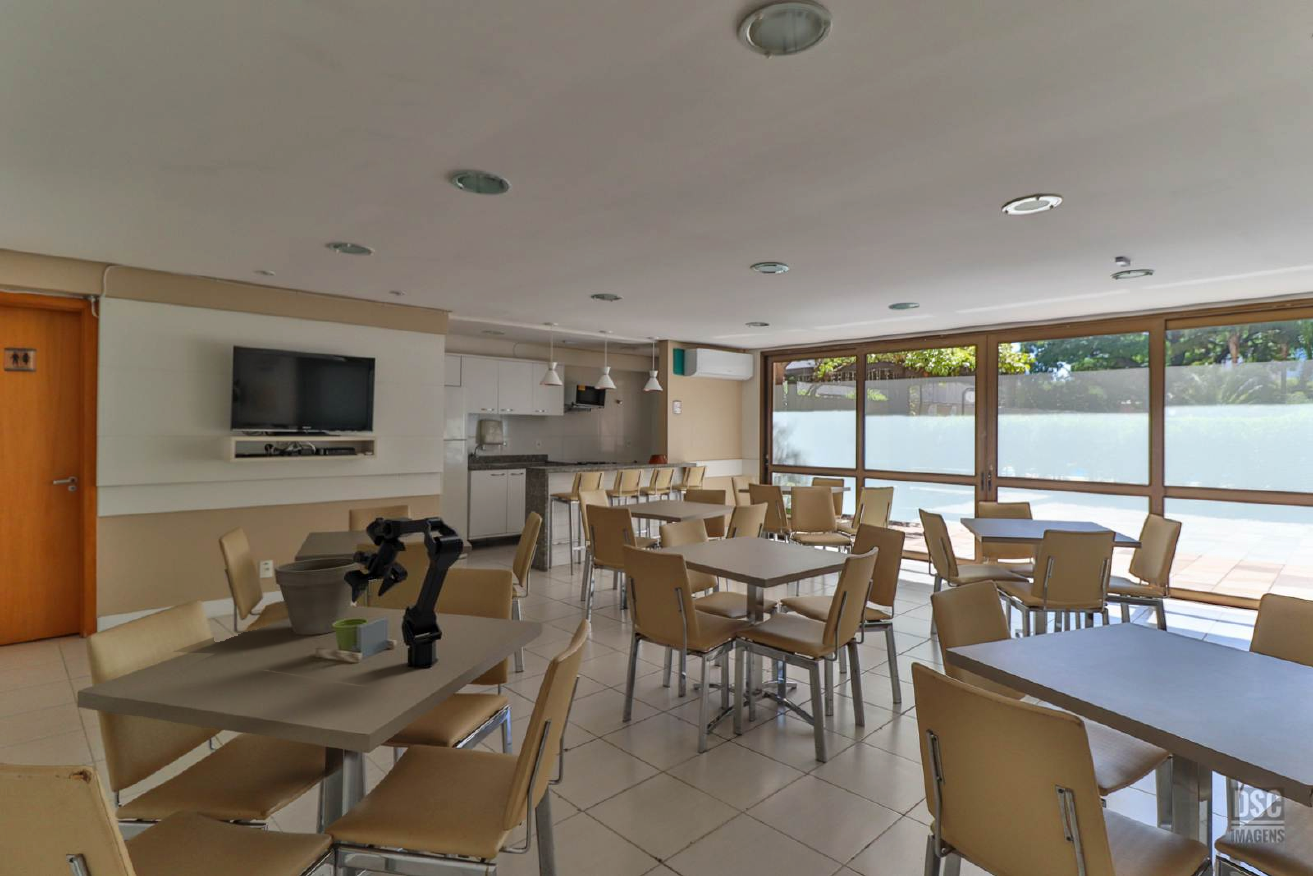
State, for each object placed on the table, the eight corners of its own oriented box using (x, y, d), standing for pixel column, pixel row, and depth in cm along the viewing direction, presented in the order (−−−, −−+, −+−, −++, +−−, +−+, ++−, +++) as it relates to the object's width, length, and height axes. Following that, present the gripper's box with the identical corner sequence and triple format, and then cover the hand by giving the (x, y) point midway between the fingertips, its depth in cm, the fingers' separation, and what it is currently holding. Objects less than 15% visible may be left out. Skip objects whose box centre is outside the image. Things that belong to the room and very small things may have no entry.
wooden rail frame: (397, 648, 194) (397, 640, 194) (358, 663, 181) (358, 654, 181) (355, 643, 200) (355, 635, 200) (315, 657, 187) (315, 648, 187)
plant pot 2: (358, 657, 187) (358, 626, 187) (326, 657, 187) (326, 626, 187) (373, 647, 196) (373, 618, 196) (342, 647, 196) (342, 618, 196)
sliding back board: (387, 649, 193) (387, 618, 193) (360, 659, 183) (360, 627, 184) (377, 648, 194) (377, 617, 194) (350, 658, 185) (350, 626, 185)
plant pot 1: (255, 638, 206) (256, 569, 206) (308, 618, 230) (308, 556, 230) (329, 641, 202) (329, 571, 202) (374, 620, 226) (374, 557, 227)
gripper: (395, 536, 203) (375, 577, 207) (342, 543, 187) (322, 588, 190) (417, 557, 199) (397, 599, 202) (366, 566, 182) (345, 611, 185)
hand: (366, 598), depth 195 cm, fingers open, 9 cm apart
